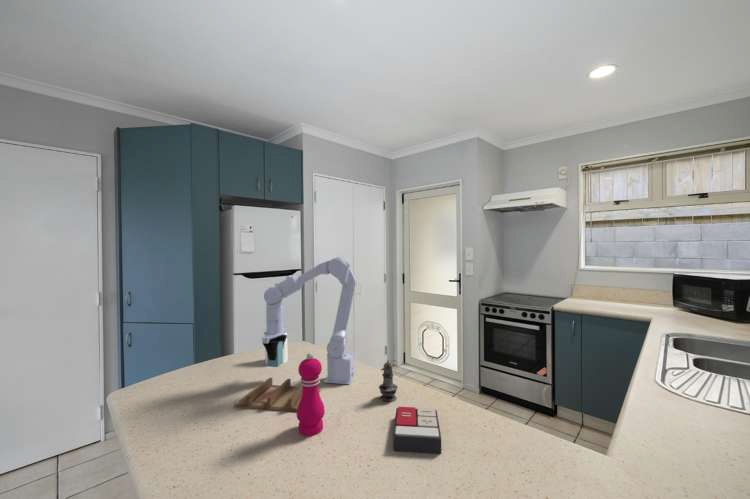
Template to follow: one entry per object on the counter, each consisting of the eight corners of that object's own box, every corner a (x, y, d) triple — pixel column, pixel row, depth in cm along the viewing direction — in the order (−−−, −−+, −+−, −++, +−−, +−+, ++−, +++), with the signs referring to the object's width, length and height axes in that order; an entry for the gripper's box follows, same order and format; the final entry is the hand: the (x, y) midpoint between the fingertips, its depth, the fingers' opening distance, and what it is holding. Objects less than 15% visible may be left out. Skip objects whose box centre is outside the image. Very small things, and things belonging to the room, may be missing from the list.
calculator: (436, 406, 88) (441, 435, 73) (436, 422, 88) (441, 455, 73) (396, 404, 89) (392, 432, 74) (396, 420, 89) (393, 451, 74)
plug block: (282, 362, 117) (282, 341, 117) (277, 366, 113) (277, 344, 113) (272, 362, 118) (272, 340, 118) (267, 366, 114) (267, 343, 114)
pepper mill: (329, 424, 86) (328, 350, 86) (316, 439, 79) (315, 358, 79) (306, 419, 88) (305, 347, 88) (291, 434, 81) (290, 355, 81)
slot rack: (320, 391, 106) (320, 380, 106) (304, 412, 92) (304, 400, 92) (259, 387, 110) (259, 377, 110) (234, 407, 96) (234, 395, 96)
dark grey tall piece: (397, 394, 103) (397, 357, 103) (397, 403, 97) (396, 363, 97) (379, 393, 104) (379, 356, 104) (378, 402, 98) (377, 363, 98)
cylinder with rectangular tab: (261, 364, 132) (261, 335, 132) (271, 357, 141) (271, 330, 141) (281, 365, 130) (281, 336, 130) (291, 358, 139) (290, 330, 139)
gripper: (273, 315, 123) (274, 350, 123) (253, 324, 109) (254, 364, 109) (291, 316, 122) (291, 351, 122) (273, 325, 108) (273, 365, 108)
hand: (275, 357), depth 115 cm, fingers closed on plug block, 4 cm apart
